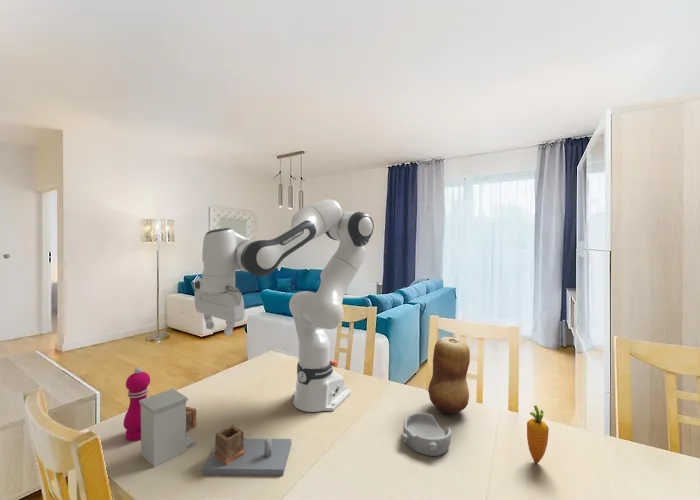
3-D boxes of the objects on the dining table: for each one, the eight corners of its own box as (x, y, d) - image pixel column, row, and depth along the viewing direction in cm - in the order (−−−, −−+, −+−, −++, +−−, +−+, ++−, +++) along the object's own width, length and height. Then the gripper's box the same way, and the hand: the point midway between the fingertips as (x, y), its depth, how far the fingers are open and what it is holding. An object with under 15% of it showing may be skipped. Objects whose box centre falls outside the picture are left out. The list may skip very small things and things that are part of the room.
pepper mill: (138, 444, 90) (138, 374, 90) (117, 440, 92) (116, 371, 91) (158, 429, 98) (158, 364, 97) (138, 425, 99) (138, 361, 98)
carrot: (546, 472, 83) (549, 415, 82) (524, 464, 85) (527, 409, 85) (547, 461, 87) (549, 406, 86) (526, 454, 89) (528, 401, 89)
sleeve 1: (181, 422, 101) (181, 405, 101) (196, 425, 100) (196, 408, 100) (165, 433, 96) (165, 415, 95) (180, 436, 94) (180, 419, 94)
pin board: (220, 443, 91) (220, 424, 91) (291, 444, 92) (291, 425, 92) (202, 474, 79) (202, 452, 79) (283, 475, 80) (283, 453, 80)
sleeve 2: (232, 445, 88) (232, 423, 88) (245, 453, 85) (245, 431, 85) (213, 456, 84) (213, 433, 84) (225, 465, 81) (226, 442, 80)
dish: (419, 422, 104) (419, 407, 104) (459, 442, 94) (460, 426, 94) (391, 441, 94) (391, 425, 94) (433, 466, 84) (434, 448, 84)
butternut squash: (468, 425, 103) (471, 348, 102) (425, 416, 107) (427, 342, 106) (468, 404, 116) (470, 335, 115) (430, 397, 120) (432, 331, 119)
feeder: (182, 434, 95) (182, 385, 95) (197, 445, 90) (197, 394, 90) (139, 454, 86) (139, 400, 86) (153, 468, 81) (153, 411, 81)
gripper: (250, 287, 89) (250, 336, 90) (210, 280, 101) (210, 323, 102) (230, 289, 84) (229, 342, 85) (190, 282, 96) (190, 327, 97)
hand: (218, 331), depth 93 cm, fingers open, 8 cm apart
